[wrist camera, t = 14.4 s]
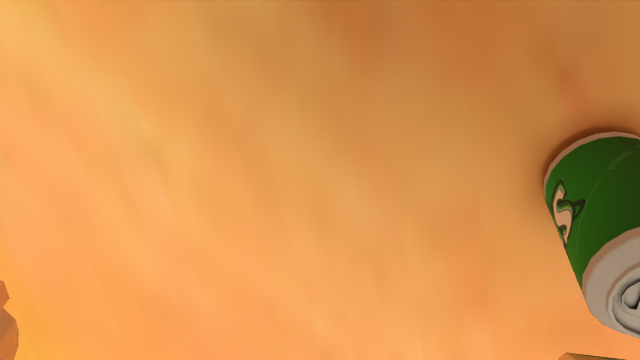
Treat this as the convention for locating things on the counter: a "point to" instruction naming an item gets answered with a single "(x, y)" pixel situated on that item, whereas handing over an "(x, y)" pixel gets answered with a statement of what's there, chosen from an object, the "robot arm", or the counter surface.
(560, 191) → the soda can
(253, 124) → the counter surface
